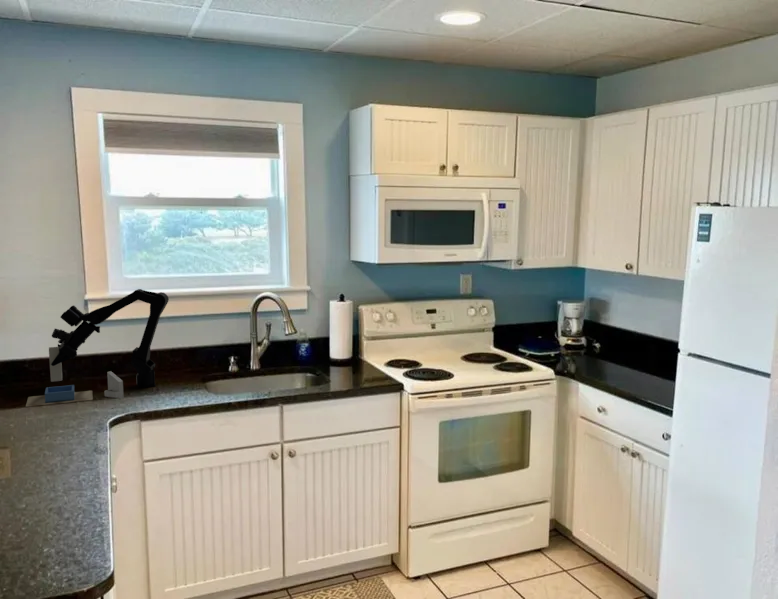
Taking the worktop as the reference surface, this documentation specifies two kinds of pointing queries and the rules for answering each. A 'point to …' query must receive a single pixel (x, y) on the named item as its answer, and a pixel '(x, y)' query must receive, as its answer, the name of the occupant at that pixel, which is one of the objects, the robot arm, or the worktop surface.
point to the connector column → (56, 369)
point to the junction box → (59, 393)
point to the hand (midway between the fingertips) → (51, 364)
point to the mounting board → (78, 397)
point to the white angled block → (114, 386)
